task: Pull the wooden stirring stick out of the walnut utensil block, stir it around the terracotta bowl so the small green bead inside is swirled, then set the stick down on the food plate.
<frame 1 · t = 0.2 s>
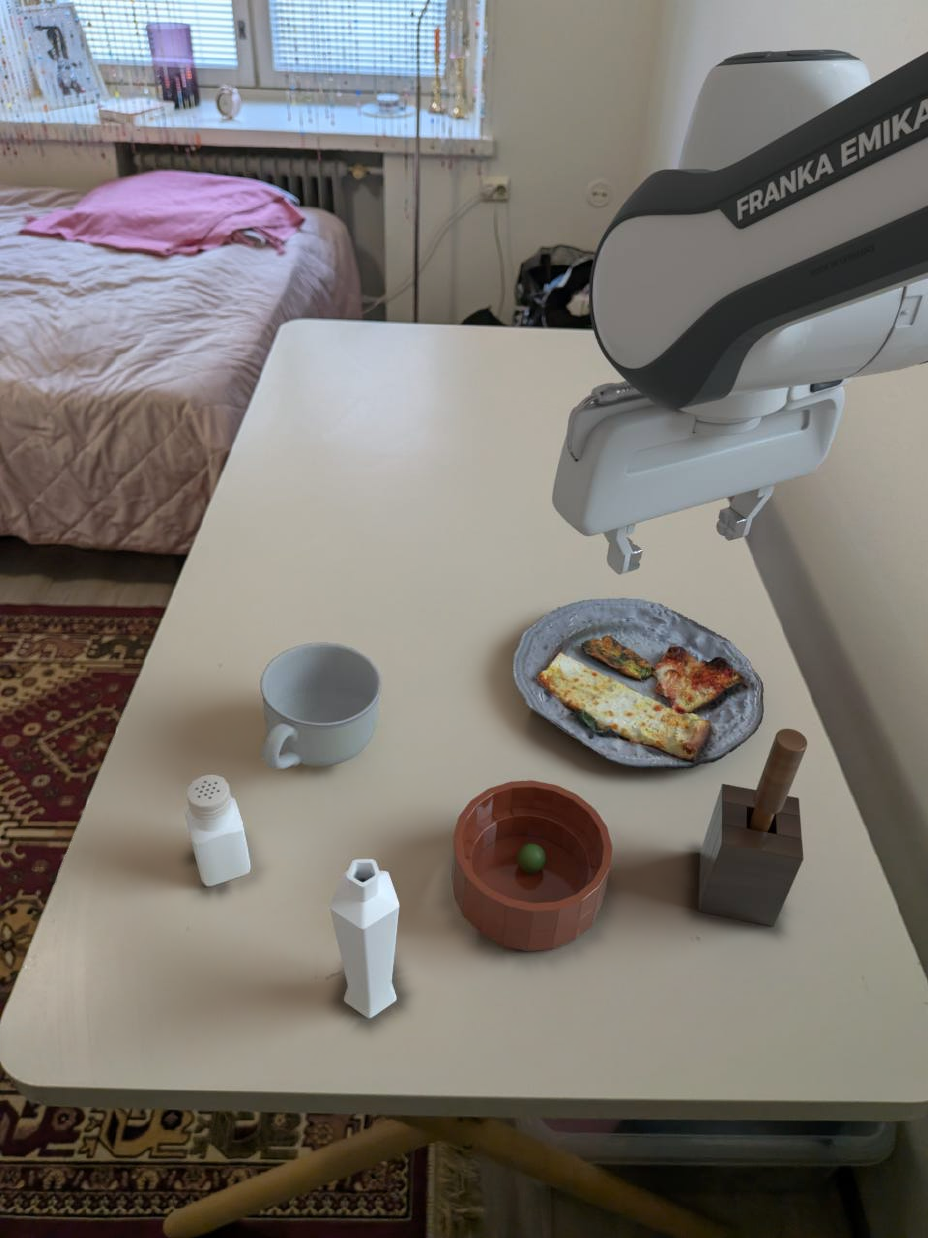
hand: (678, 550, 64), 29 cm above the table, tool pointing down, fingers open, 8 cm apart
teacup: (314, 751, 87), on the table
bead: (531, 858, 77), point 2 cm above the table, touching bowl
bowl: (526, 886, 77), on the table
food plate: (635, 691, 95), on the table
utensil block: (735, 888, 77), on the table
stirring stick: (761, 819, 71), in the utensil block
salt shaker: (223, 866, 77), on the table
white faceted bottle: (368, 994, 69), on the table
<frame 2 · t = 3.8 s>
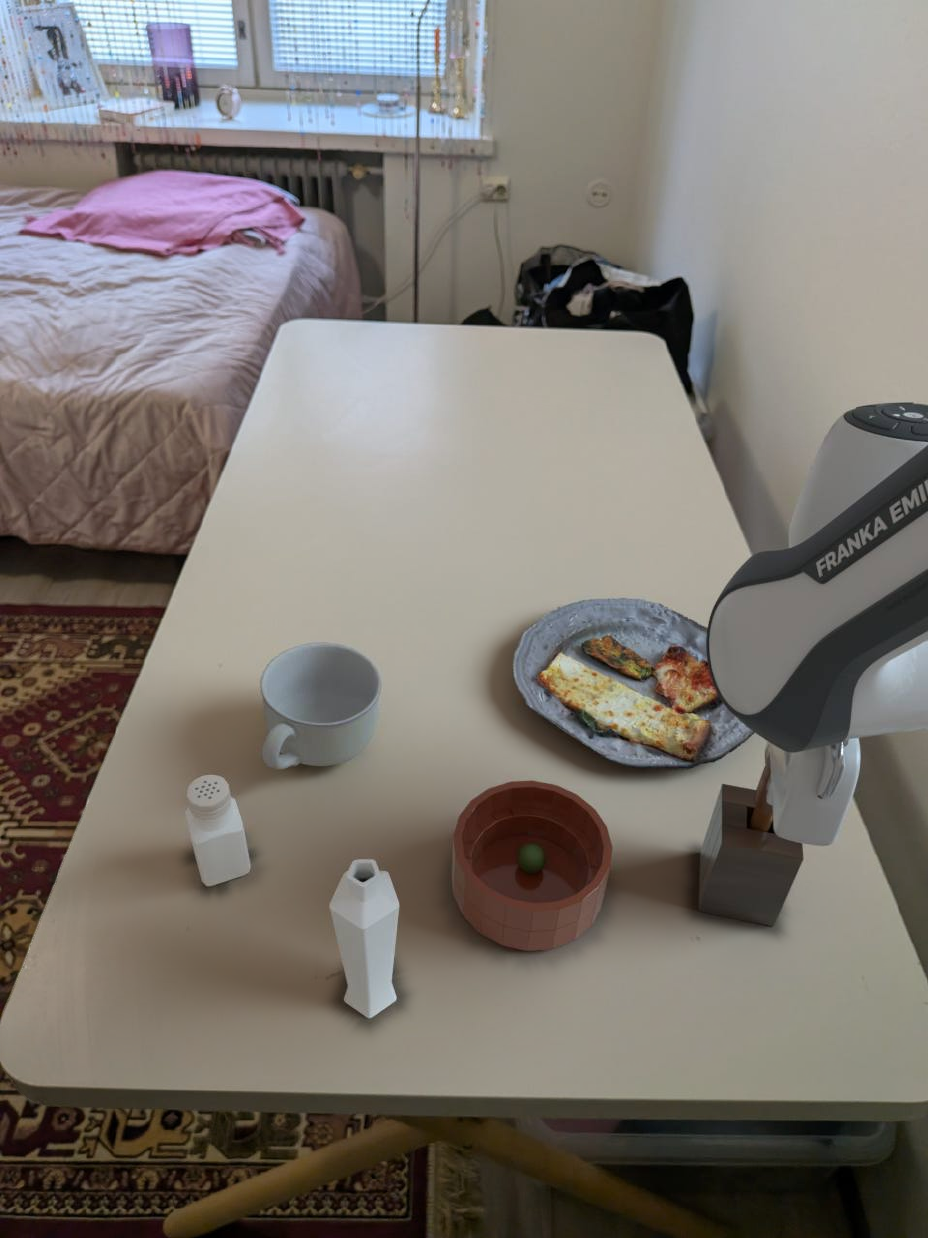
hand: (776, 780, 68), 14 cm above the table, tool pointing down, fingers closed on stirring stick, 2 cm apart
stirring stick: (761, 820, 71), in the utensil block, touching gripper
everything else where it was.
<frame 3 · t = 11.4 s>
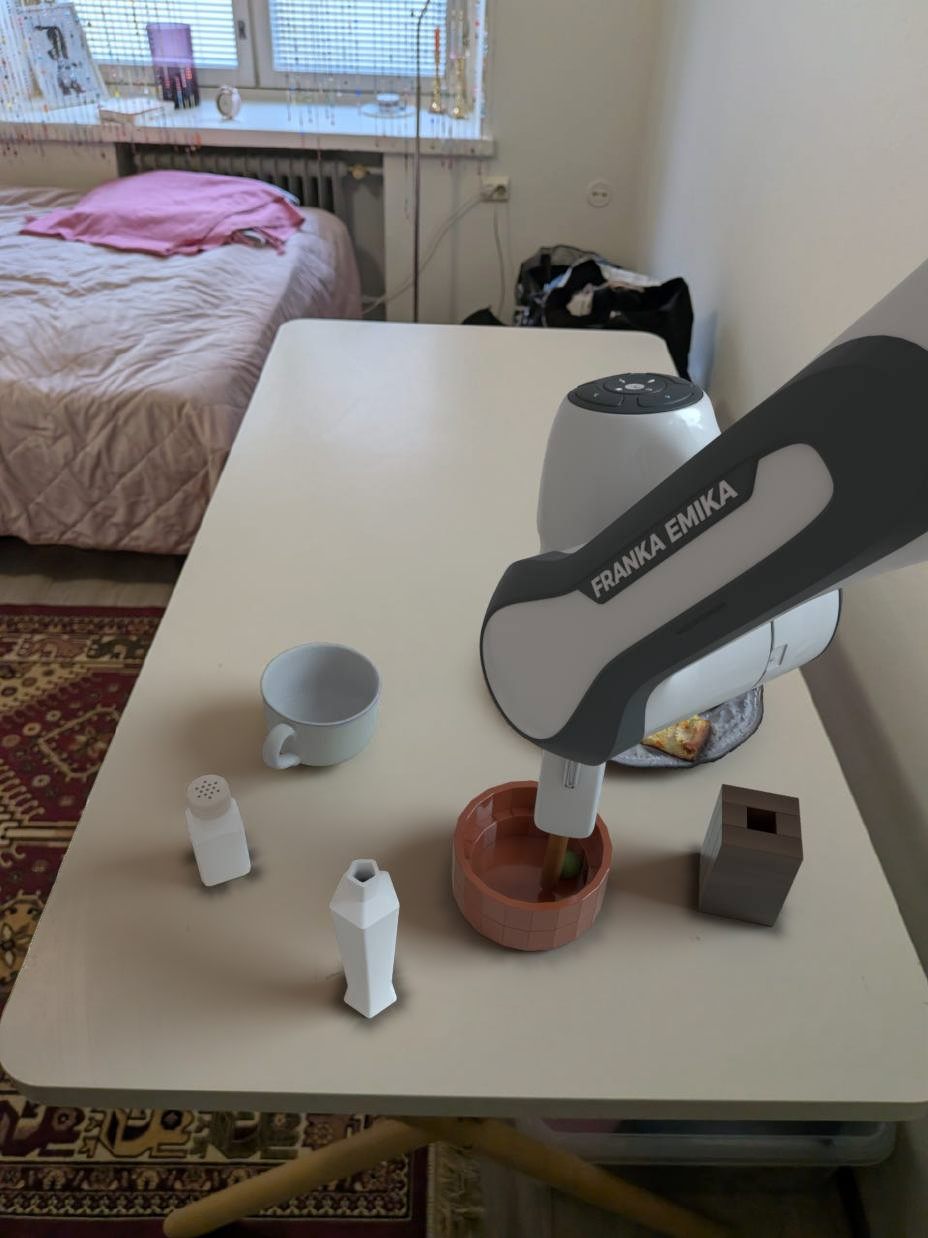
hand: (573, 772, 66), 15 cm above the table, tool pointing down, fingers closed on stirring stick, 2 cm apart
bead: (566, 864, 76), point 2 cm above the table, tilted 118°, touching bowl
stirring stick: (563, 813, 69), point 10 cm above the table, touching gripper
everything else where it was.
when the fingers open (17 cm above the table, at t = 18.1 s): stirring stick stays where it is, resting on food plate.
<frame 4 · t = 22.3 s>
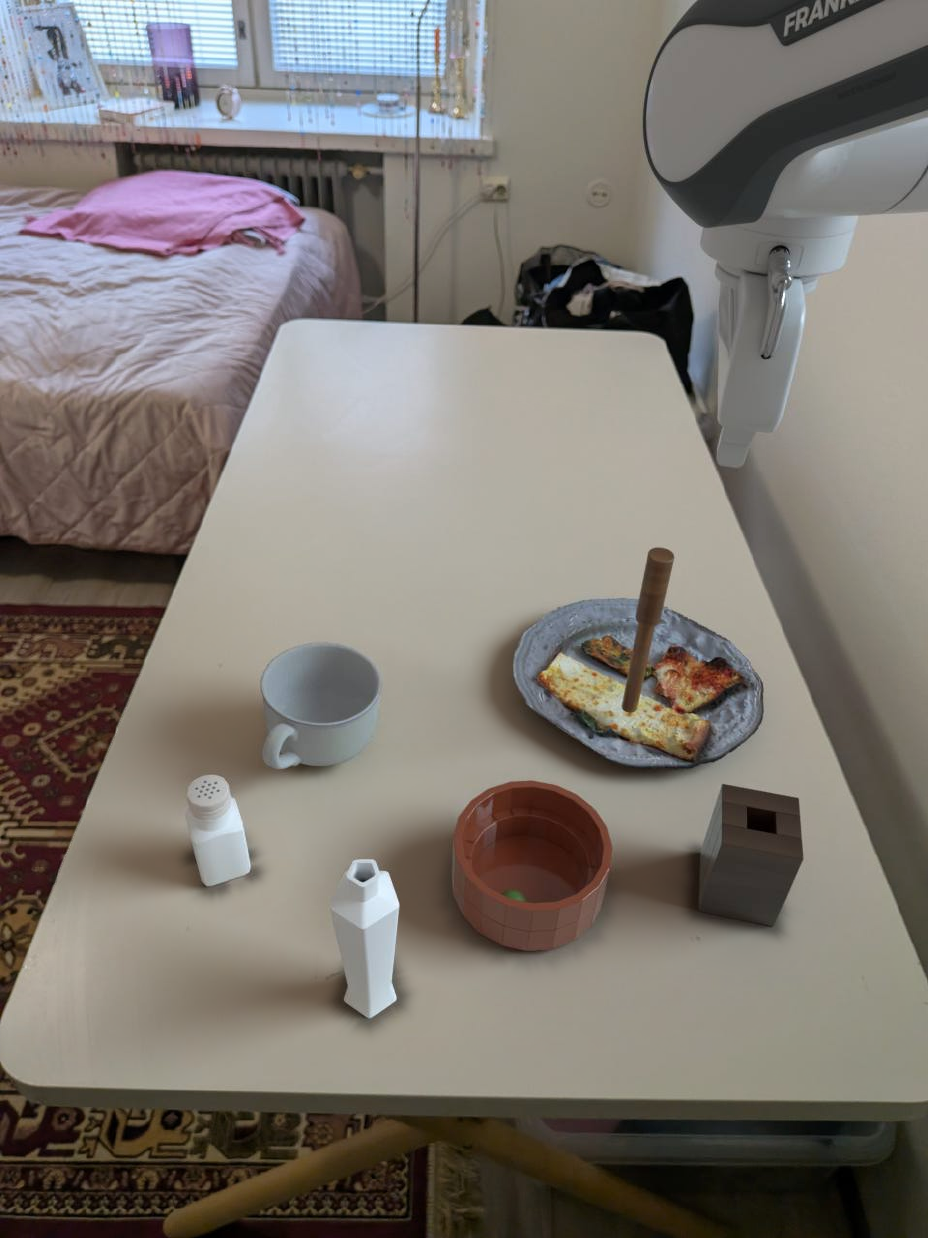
hand: (728, 429, 65), 35 cm above the table, tool pointing down, fingers open, 8 cm apart
bead: (511, 905, 73), point 2 cm above the table, tilted 176°, touching bowl
food plate: (635, 691, 95), on the table, touching stirring stick
stirring stick: (644, 636, 83), point 12 cm above the table, touching food plate
everything else where it was.
at the end: bead moved 4.9 cm from its start; bead inside the target area in the bowl (3.4 cm from its centre), point 1.8 cm above the bowl's base; stirring stick inside the target area on the food plate (6.0 cm from its centre), point 12.3 cm above the food plate's base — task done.
